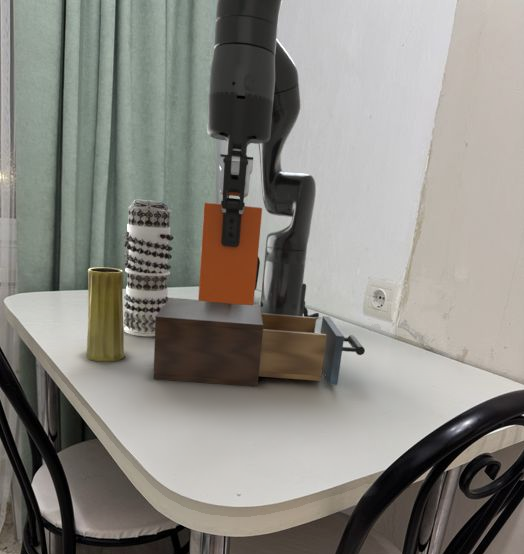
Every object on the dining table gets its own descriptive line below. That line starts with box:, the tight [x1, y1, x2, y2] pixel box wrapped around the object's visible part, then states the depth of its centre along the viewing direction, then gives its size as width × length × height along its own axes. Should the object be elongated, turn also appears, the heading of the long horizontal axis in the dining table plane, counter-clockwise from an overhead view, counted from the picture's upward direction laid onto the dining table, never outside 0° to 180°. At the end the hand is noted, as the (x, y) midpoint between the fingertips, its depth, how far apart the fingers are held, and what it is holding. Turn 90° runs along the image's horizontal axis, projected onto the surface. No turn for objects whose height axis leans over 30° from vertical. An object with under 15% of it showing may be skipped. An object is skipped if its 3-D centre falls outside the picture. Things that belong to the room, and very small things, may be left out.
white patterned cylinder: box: [123, 199, 174, 337], centre depth 97 cm, size 9×9×25 cm
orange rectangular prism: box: [197, 201, 263, 305], centre depth 64 cm, size 7×4×12 cm, turn 92°
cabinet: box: [153, 297, 263, 387], centre depth 81 cm, size 16×15×10 cm
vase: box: [85, 267, 126, 363], centre depth 81 cm, size 6×6×14 cm
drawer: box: [259, 313, 366, 386], centre depth 82 cm, size 19×13×8 cm
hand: (230, 244), depth 64 cm, fingers closed on orange rectangular prism, 4 cm apart
